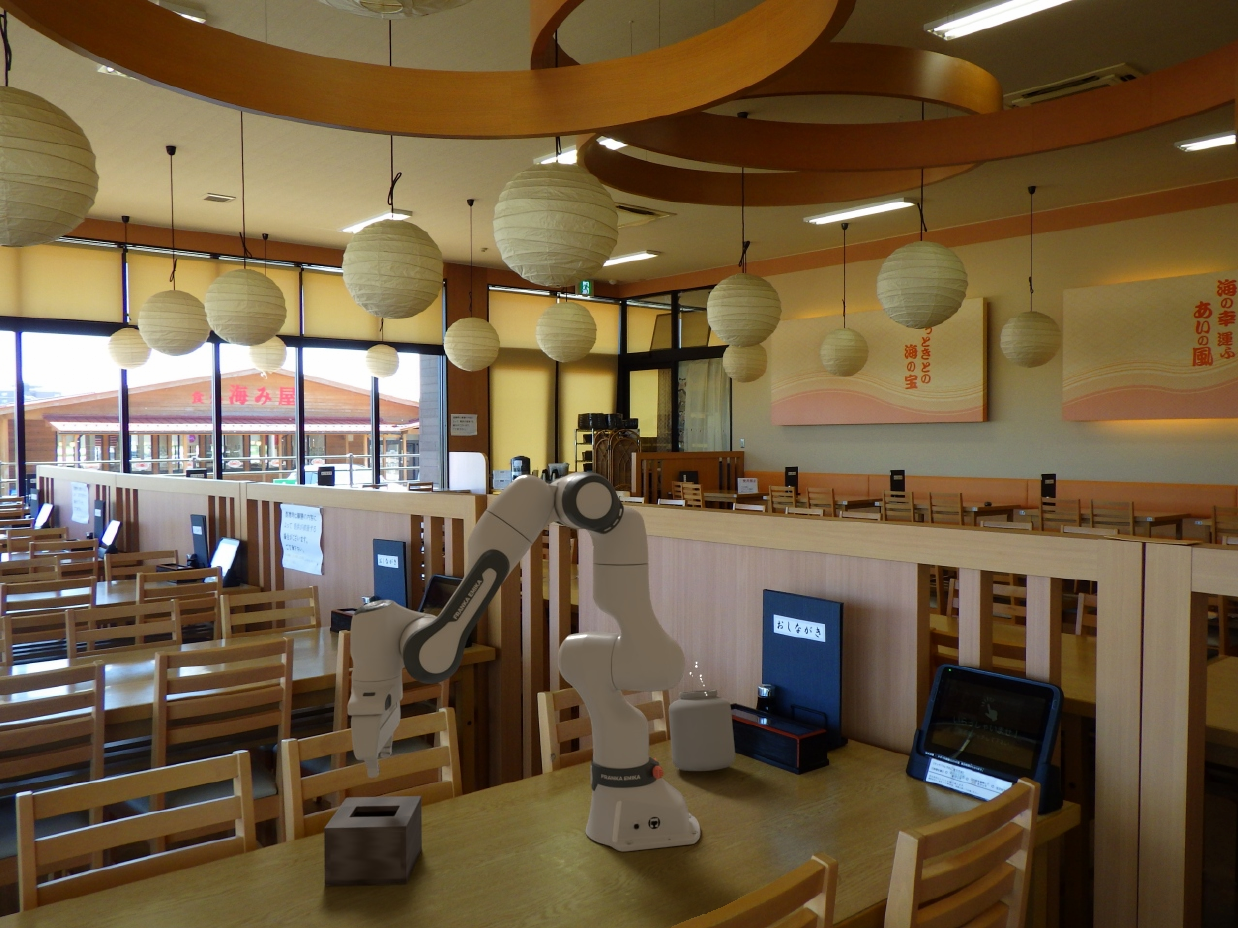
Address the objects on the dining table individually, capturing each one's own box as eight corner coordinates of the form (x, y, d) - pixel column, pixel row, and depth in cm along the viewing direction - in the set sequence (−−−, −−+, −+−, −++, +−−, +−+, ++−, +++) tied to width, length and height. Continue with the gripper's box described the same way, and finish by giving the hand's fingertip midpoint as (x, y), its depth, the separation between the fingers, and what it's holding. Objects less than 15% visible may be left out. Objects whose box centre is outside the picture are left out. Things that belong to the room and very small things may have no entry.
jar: (657, 759, 217) (656, 657, 217) (713, 753, 221) (712, 653, 221) (686, 785, 199) (685, 674, 199) (745, 778, 203) (745, 669, 203)
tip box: (421, 848, 167) (421, 795, 167) (406, 883, 153) (406, 826, 153) (346, 850, 166) (346, 797, 166) (324, 885, 152) (324, 827, 152)
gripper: (374, 675, 171) (376, 746, 171) (344, 708, 150) (347, 788, 151) (407, 674, 171) (409, 744, 171) (381, 707, 150) (384, 787, 151)
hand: (380, 765), depth 161 cm, fingers open, 8 cm apart
